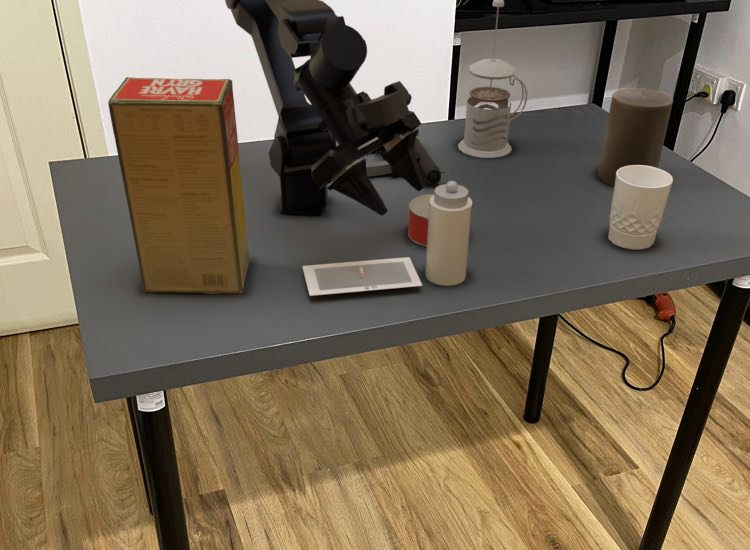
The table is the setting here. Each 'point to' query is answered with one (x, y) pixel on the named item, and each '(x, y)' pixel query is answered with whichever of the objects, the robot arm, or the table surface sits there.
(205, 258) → the food packaging
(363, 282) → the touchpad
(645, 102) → the pillar candle
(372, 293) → the table surface
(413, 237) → the sauce tin
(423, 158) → the door handle
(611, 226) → the white cup
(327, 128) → the robot arm
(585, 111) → the table surface
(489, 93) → the french press
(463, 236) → the pepper mill
